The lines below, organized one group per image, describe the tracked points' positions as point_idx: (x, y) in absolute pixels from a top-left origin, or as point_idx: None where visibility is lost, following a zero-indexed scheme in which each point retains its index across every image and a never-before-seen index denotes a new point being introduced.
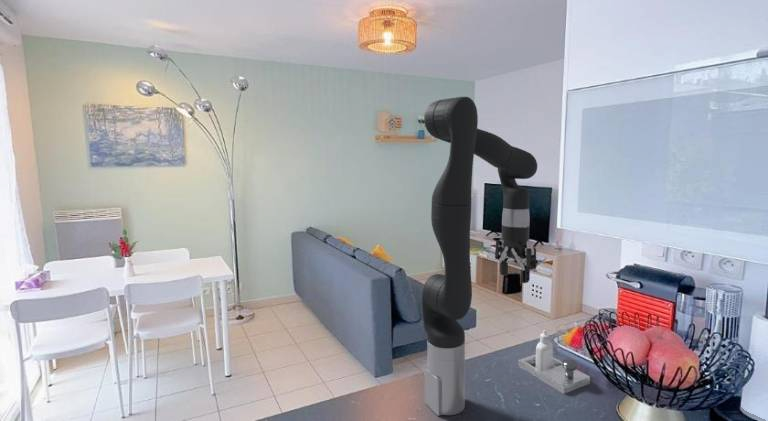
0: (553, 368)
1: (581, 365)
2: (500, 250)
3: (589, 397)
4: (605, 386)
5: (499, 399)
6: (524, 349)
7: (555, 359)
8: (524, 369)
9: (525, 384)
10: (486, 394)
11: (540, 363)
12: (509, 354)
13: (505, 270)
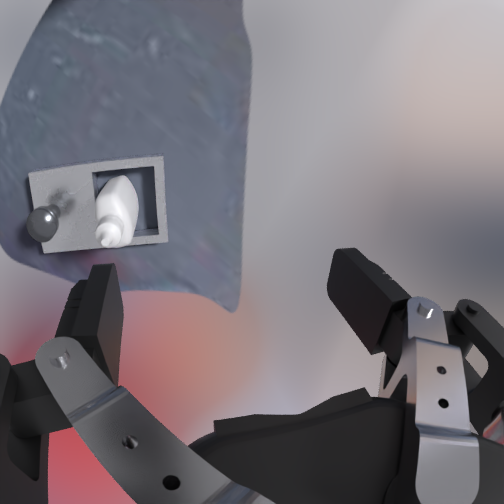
0: (93, 207)
1: None
2: (489, 383)
3: (14, 209)
4: (36, 264)
5: (80, 28)
6: (222, 224)
7: None
8: (142, 155)
9: (93, 114)
10: (109, 12)
11: (106, 184)
12: (221, 173)
13: (346, 293)
